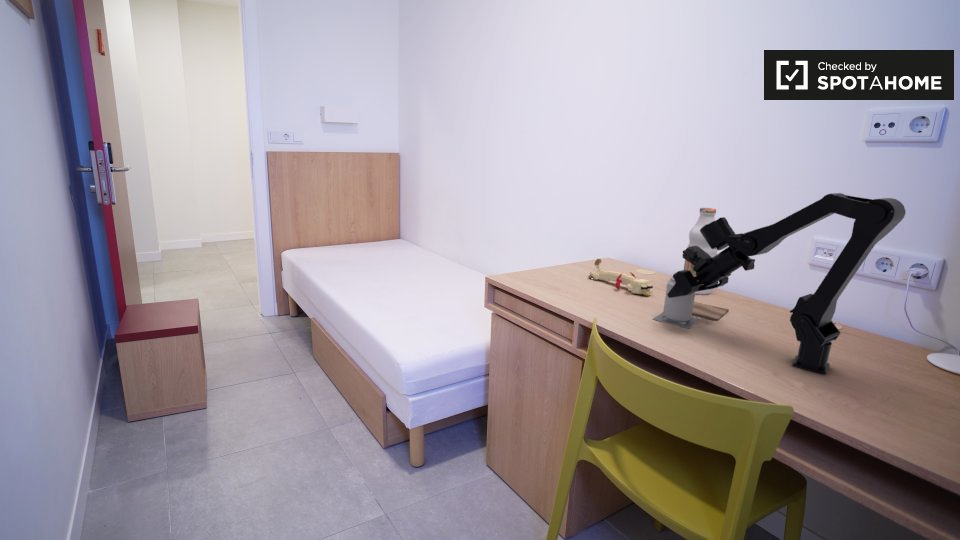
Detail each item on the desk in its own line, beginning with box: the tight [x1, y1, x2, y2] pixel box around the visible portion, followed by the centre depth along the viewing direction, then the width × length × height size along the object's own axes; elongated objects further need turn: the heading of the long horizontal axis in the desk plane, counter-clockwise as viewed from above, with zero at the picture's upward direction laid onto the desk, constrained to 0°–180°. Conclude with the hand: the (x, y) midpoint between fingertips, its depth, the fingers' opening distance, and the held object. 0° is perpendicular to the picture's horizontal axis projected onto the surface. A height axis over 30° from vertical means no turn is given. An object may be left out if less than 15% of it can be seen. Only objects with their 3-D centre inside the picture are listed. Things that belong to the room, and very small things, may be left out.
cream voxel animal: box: [588, 258, 654, 296], centre depth 167 cm, size 10×9×25 cm
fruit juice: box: [683, 207, 718, 296], centre depth 163 cm, size 9×9×28 cm
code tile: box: [652, 311, 701, 329], centre depth 138 cm, size 10×10×1 cm
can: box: [662, 275, 696, 323], centre depth 137 cm, size 8×8×12 cm
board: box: [692, 301, 729, 322], centre depth 146 cm, size 12×12×1 cm
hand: (678, 293), depth 137 cm, fingers open, 9 cm apart
